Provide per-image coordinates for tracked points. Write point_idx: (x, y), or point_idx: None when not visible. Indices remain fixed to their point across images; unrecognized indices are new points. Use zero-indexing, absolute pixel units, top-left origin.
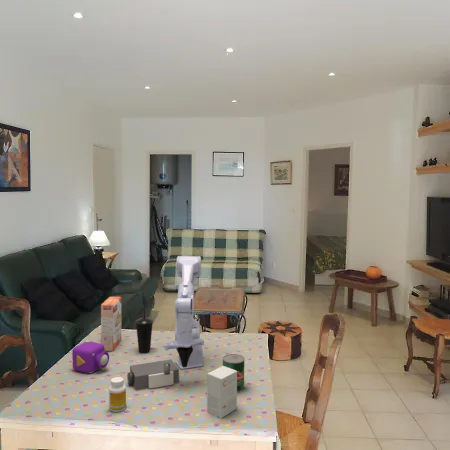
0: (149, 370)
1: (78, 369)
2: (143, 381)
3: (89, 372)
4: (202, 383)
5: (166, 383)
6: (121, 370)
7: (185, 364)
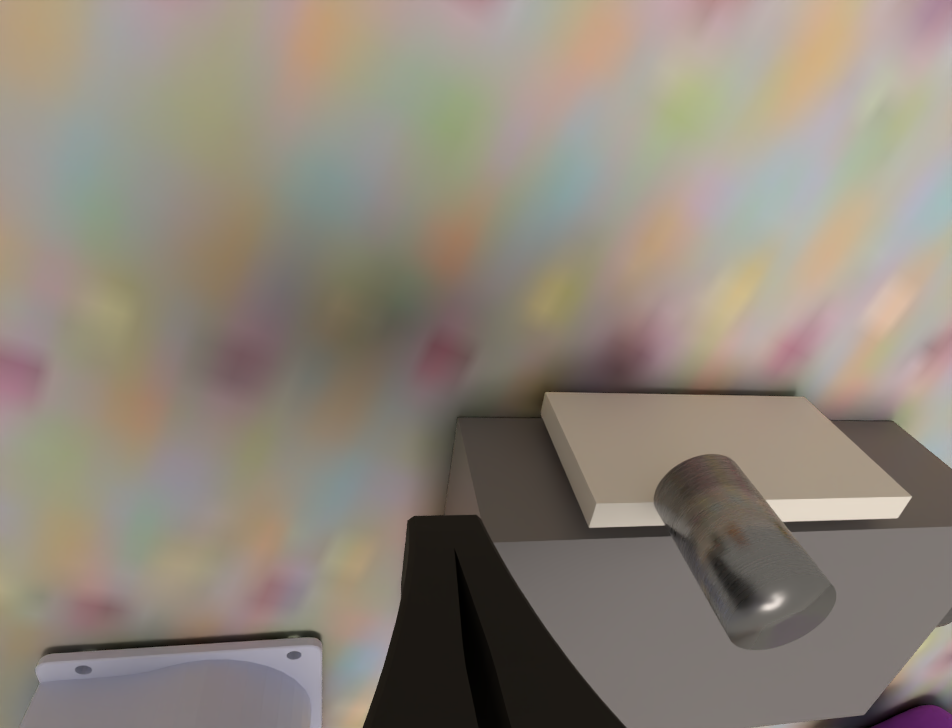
0: None
1: None
2: None
3: (940, 708)
4: (165, 289)
5: (633, 408)
6: None
7: (454, 553)
